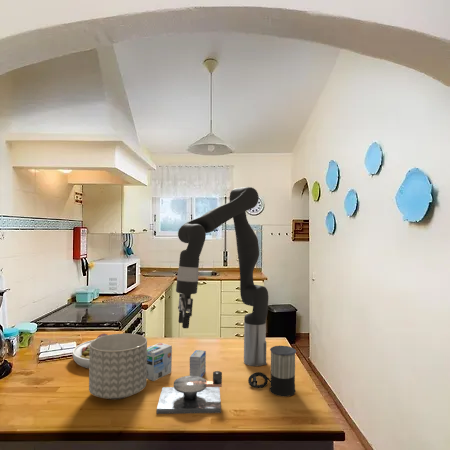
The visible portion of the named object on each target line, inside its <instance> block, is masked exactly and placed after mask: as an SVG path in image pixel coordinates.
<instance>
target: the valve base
mask: <svg viewBox="0 0 450 450" xmlns="http://www.w3.org/2000/svg"><path fill="white" fill-rule="evenodd" d="M220 388H221V387H206V388H205V389H204V390H203V391H200V392H197V393H181V392H178V391H176V390H175V389H174V386H173V387H172V386H171V387H169V386H167V387H165V386H163V387H162V388H161V392H160V395H159V399H158V403H157V407H156V414H157V415H161V414H163V415H164V414H166V415H167V414H168V415H169V414H172V415H173V414H175V415H176V414H221V413H222V405H221V404H222V403H221V391H220Z"/></svg>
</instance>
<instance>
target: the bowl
mask: <svg viewBox="0 0 450 450" xmlns="http://www.w3.org/2000/svg"><path fill="white" fill-rule="evenodd" d="M106 335H108V334H106V333H101V334H99V335H97V337H96V338H99V337H102V336H106ZM93 340H94V339H92V340H89V341H88V340H87V341H84V342H83V343H80V344H78V345H77V346H75V347H74V348H73V350H72V358H73V360H74V362H75V363H76V365H78V366H80V367H82V368H85V369H89V352H90V343H91V341H93Z"/></svg>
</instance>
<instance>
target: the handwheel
mask: <svg viewBox="0 0 450 450" xmlns="http://www.w3.org/2000/svg"><path fill="white" fill-rule="evenodd" d="M222 383H223V371H220V370H216V371H213V372H212V380H207V379H206V378H204V377H203V376H202V377H198V376H190V375H186V376H180V377H178V378H176V379H175V380H174V381H173V387H174V389H175V390H176V391H178V392H181V393H197V392H200V391H203V390H204V389H205V388H206V387H219V388H222V386H223V384H222Z"/></svg>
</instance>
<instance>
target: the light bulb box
mask: <svg viewBox="0 0 450 450" xmlns="http://www.w3.org/2000/svg"><path fill="white" fill-rule="evenodd" d="M172 354H173V347H172V345H170V344H167V343H163V342H159V343H158V342H157V343H156V344H154V345H150V346H147V380H149V381H152V382H155V381H157V380H159V379H160V378H163V377H165V376H167V375H169V374H171V373H172V365H173V364H172V362H173V361H172V359H173V358H172V357H173V355H172Z"/></svg>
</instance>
